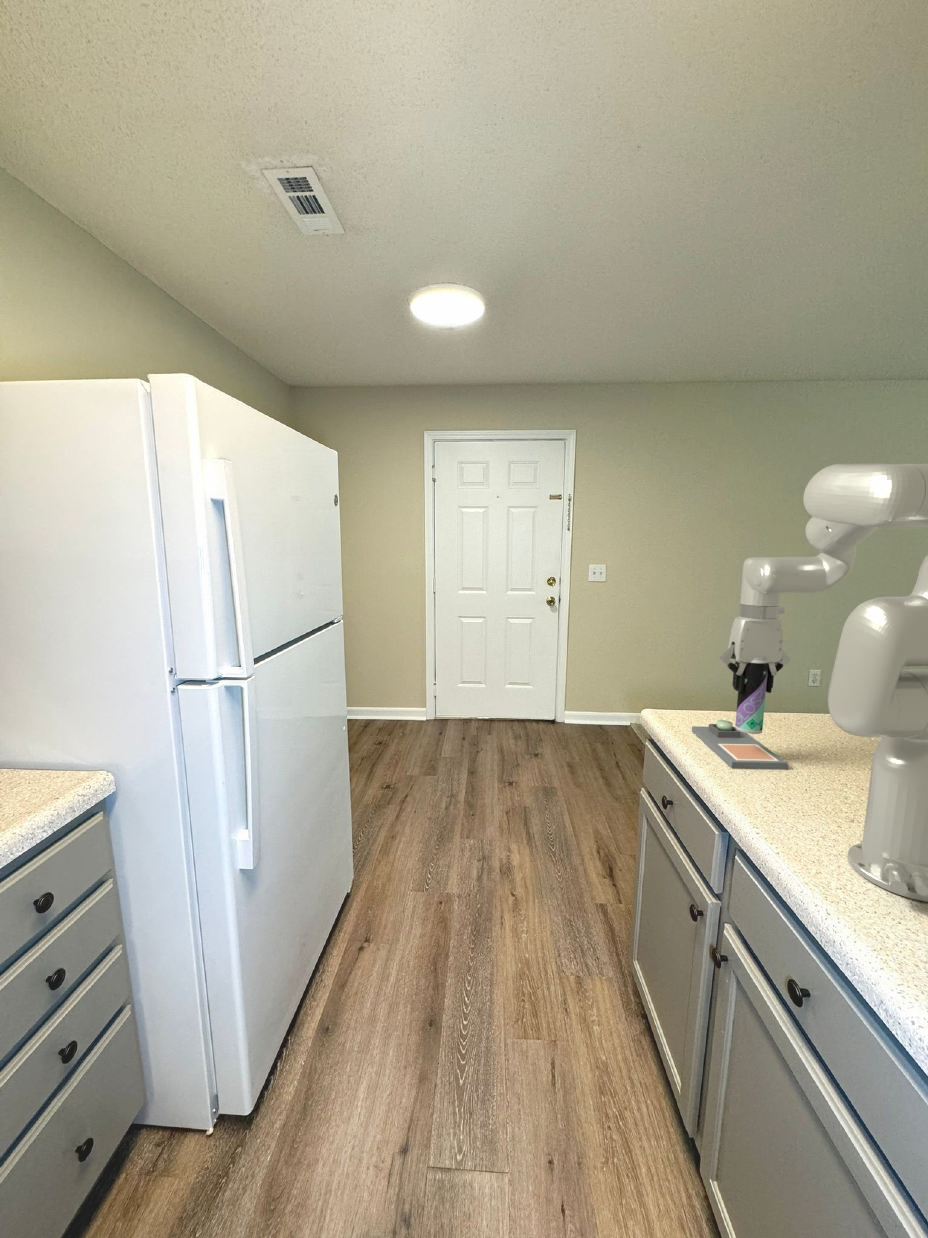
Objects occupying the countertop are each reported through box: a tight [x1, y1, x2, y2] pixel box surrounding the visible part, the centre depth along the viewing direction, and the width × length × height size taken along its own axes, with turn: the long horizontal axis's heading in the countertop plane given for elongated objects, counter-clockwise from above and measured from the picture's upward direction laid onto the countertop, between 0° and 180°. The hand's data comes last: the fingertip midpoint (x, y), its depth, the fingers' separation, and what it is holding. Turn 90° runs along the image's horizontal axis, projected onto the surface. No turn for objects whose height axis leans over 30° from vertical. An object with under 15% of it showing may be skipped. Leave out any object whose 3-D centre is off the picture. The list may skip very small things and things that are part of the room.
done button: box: [716, 719, 734, 731], centre depth 126 cm, size 4×4×2 cm
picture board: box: [691, 723, 789, 770], centre depth 120 cm, size 22×12×3 cm, turn 177°
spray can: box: [734, 657, 768, 735], centre depth 113 cm, size 6×6×20 cm
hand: (752, 690), depth 113 cm, fingers closed on spray can, 5 cm apart
